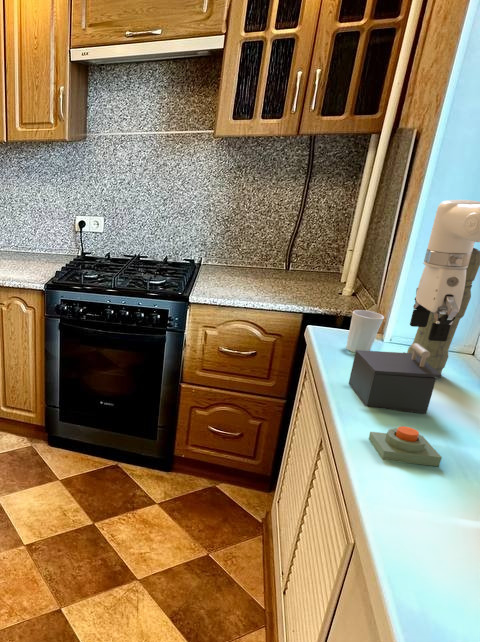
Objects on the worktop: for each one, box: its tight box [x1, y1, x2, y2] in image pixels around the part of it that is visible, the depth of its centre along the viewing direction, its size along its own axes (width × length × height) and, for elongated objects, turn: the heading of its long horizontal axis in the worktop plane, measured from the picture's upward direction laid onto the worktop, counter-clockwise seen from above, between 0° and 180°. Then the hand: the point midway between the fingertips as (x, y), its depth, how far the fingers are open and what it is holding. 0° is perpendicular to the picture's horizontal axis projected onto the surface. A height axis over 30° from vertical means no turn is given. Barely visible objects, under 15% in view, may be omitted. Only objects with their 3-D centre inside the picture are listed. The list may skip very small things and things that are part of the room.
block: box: [368, 427, 443, 467], centre depth 110 cm, size 10×8×4 cm
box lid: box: [354, 343, 442, 379], centre depth 129 cm, size 13×14×5 cm
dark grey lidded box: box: [348, 352, 437, 415], centre depth 132 cm, size 13×14×9 cm
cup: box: [345, 309, 385, 353], centre depth 161 cm, size 8×8×12 cm
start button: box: [396, 426, 420, 442], centre depth 109 cm, size 4×4×2 cm
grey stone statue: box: [406, 247, 480, 375], centre depth 142 cm, size 9×12×35 cm
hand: (427, 333), depth 119 cm, fingers open, 9 cm apart
